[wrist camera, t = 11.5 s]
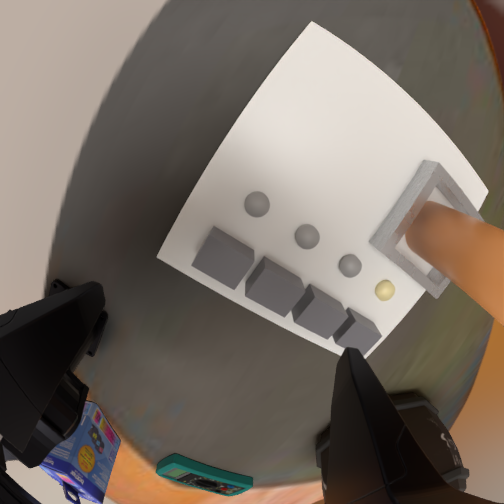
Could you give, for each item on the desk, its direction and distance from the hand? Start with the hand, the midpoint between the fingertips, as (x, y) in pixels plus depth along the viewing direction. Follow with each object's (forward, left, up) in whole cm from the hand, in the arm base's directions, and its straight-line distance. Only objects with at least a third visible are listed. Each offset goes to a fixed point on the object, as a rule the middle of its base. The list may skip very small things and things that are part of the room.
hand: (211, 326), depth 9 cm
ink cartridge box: (-34, +3, -12) cm, 36 cm away
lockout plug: (+9, -12, -10) cm, 18 cm away
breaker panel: (+6, -6, -12) cm, 14 cm away
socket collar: (+9, -12, -10) cm, 18 cm away
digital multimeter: (-37, -16, -12) cm, 42 cm away
